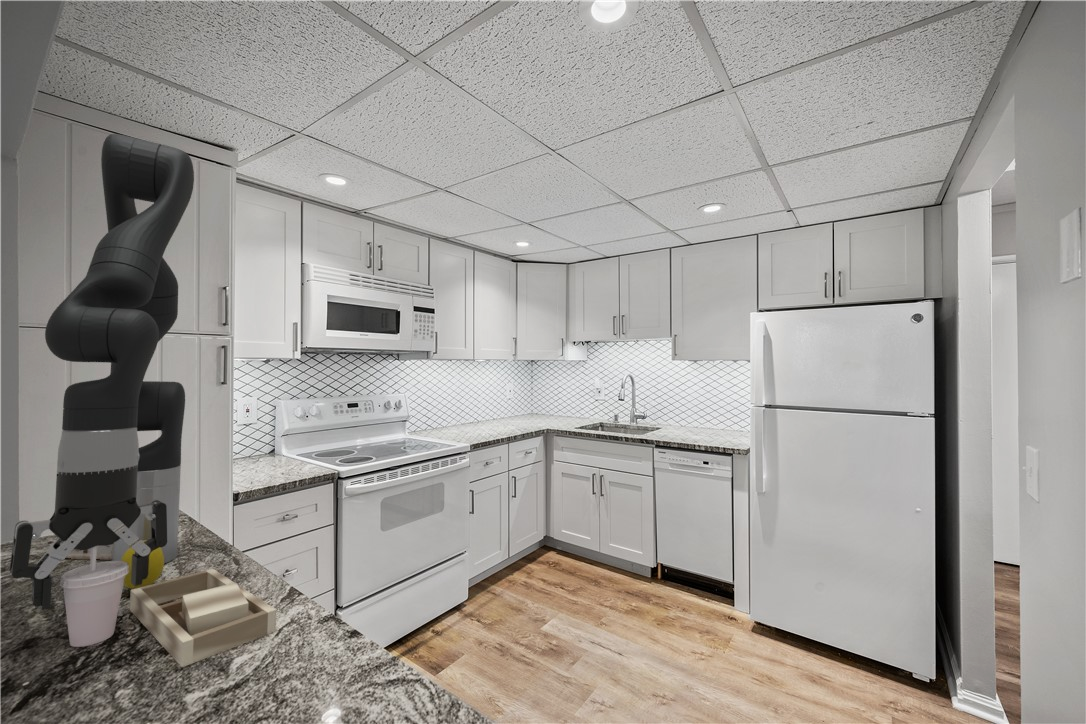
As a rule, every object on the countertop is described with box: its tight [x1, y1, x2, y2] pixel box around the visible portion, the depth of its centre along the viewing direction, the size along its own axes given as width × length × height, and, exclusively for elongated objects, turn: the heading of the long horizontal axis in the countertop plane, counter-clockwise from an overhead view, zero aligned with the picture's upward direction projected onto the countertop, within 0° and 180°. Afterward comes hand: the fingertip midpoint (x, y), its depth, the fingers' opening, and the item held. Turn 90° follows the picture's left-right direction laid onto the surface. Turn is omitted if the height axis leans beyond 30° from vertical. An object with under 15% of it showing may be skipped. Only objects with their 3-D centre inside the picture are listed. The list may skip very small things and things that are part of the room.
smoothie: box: [59, 546, 129, 648], centre depth 60 cm, size 6×6×14 cm
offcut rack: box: [129, 568, 277, 668], centre depth 64 cm, size 22×10×4 cm, turn 53°
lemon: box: [121, 540, 165, 590], centre depth 76 cm, size 6×6×8 cm
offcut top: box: [181, 582, 248, 636], centre depth 62 cm, size 8×6×2 cm
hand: (92, 595), depth 60 cm, fingers open, 8 cm apart
